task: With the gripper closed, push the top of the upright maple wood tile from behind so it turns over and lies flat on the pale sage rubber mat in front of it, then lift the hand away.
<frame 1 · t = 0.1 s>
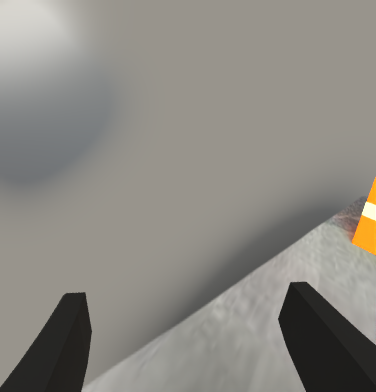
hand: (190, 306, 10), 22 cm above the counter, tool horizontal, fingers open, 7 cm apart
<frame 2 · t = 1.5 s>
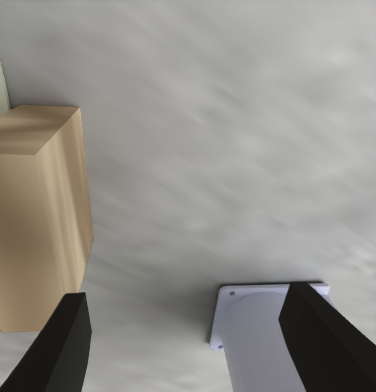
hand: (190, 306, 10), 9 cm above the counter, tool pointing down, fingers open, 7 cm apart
maple tile: (62, 180, 18), on the counter
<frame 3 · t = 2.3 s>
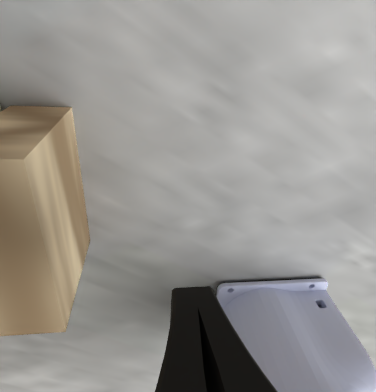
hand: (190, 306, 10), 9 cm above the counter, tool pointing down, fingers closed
maple tile: (56, 181, 17), on the counter
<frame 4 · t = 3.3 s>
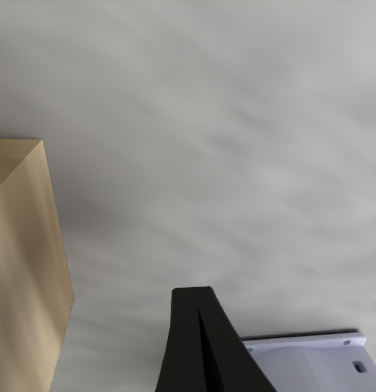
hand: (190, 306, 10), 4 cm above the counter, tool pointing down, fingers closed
maple tile: (26, 232, 13), on the counter
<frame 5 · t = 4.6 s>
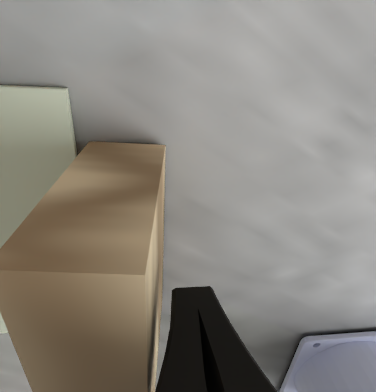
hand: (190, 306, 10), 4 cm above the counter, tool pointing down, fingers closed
maple tile: (132, 233, 14), on the counter, tilted 6°
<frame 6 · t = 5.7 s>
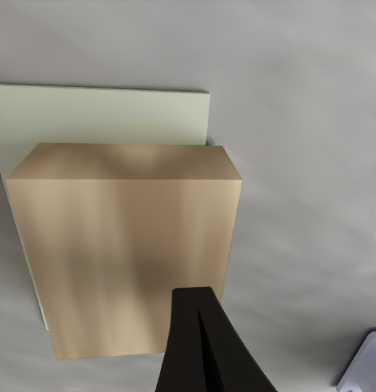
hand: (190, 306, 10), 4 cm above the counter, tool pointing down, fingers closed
sage mat: (112, 232, 14), on the counter
maple tile: (216, 255, 13), point 2 cm above the counter, tilted 90°, touching sage mat
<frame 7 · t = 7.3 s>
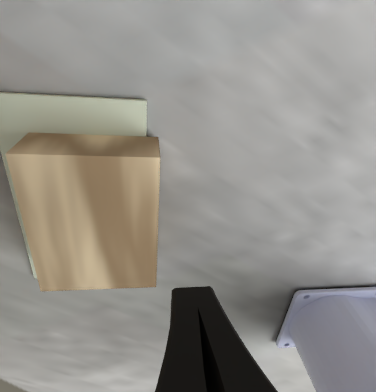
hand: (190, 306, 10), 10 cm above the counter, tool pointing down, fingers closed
sage mat: (83, 200, 19), on the counter
maple tile: (157, 216, 18), point 2 cm above the counter, tilted 90°, touching sage mat
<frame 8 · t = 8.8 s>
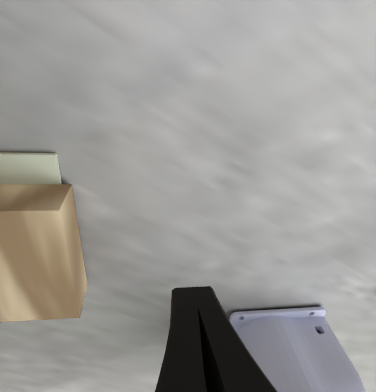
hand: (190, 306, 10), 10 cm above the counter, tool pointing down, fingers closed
sage mat: (11, 239, 20), on the counter
maple tile: (75, 254, 19), point 2 cm above the counter, tilted 90°, touching sage mat
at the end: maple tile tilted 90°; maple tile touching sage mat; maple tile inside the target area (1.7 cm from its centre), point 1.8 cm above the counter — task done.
